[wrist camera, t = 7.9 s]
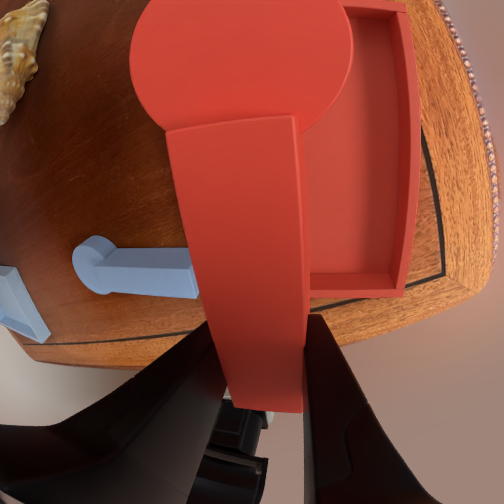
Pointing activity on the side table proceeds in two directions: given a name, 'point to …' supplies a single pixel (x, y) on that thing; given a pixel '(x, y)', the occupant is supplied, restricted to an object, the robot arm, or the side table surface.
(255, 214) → the red spoon
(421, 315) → the side table surface
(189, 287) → the blue spoon
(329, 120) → the red tray
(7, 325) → the blue tray
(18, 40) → the seashell
